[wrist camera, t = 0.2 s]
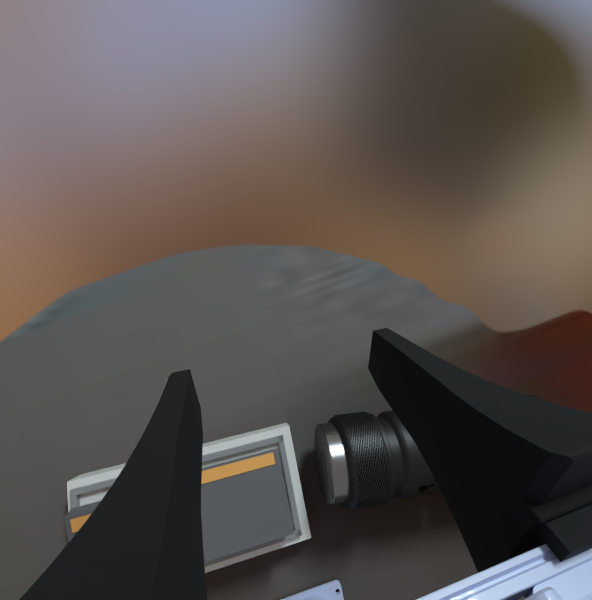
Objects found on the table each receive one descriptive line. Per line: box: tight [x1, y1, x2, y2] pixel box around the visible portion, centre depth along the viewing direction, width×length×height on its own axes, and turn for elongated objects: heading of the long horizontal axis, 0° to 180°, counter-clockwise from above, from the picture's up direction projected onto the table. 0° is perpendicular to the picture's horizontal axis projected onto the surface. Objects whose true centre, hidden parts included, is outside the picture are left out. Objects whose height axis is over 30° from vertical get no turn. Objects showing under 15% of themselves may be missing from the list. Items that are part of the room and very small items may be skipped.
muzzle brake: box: [315, 395, 547, 510], centre depth 38 cm, size 10×28×10 cm, turn 96°
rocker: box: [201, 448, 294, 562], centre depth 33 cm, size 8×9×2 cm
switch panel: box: [67, 423, 311, 573], centre depth 35 cm, size 12×24×4 cm, turn 103°
